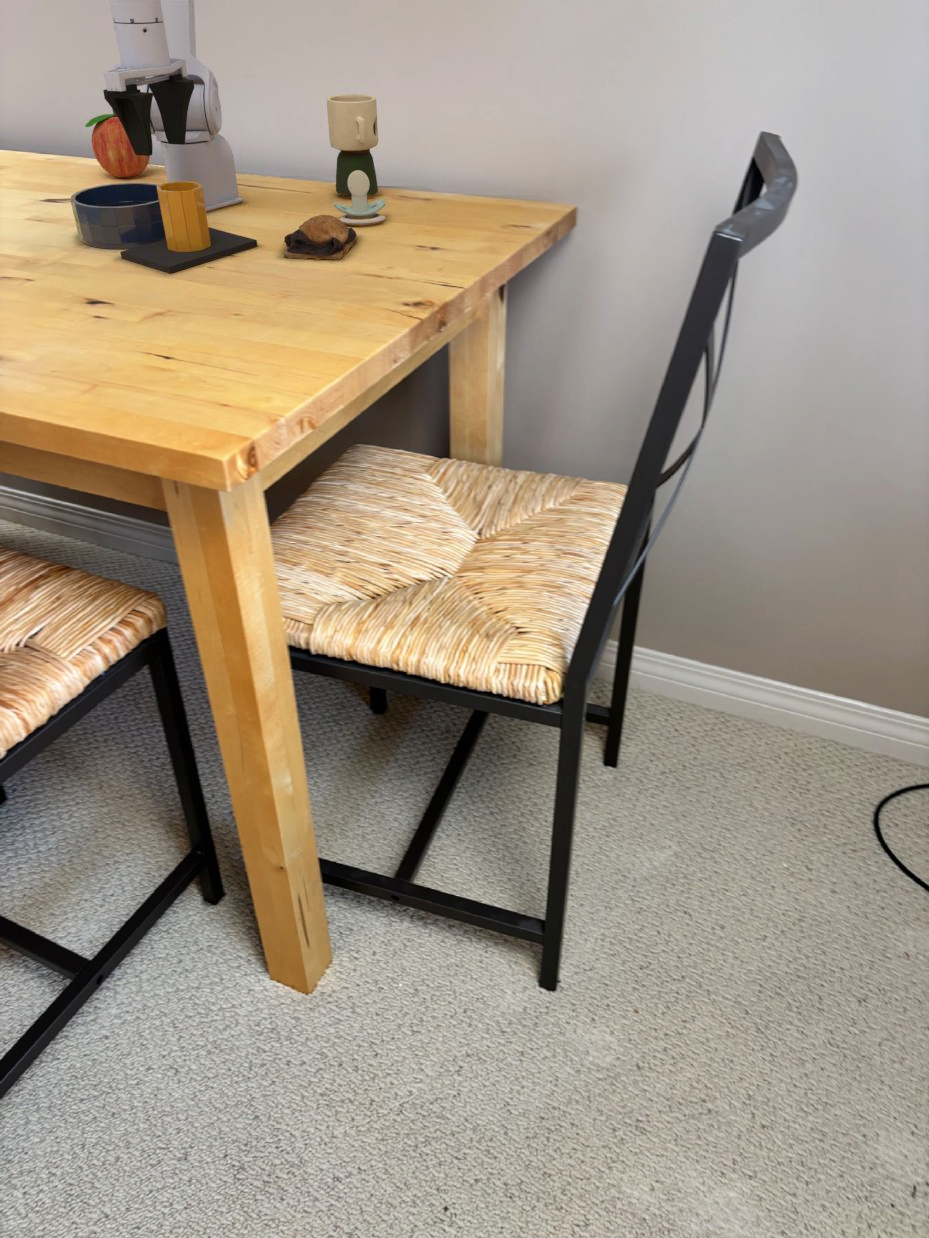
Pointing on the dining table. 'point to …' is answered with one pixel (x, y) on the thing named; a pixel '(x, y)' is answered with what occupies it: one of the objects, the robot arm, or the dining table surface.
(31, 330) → the dining table surface
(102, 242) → the pot
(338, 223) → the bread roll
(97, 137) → the fruit
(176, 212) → the cup
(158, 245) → the pot holder
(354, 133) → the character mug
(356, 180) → the pacifier
